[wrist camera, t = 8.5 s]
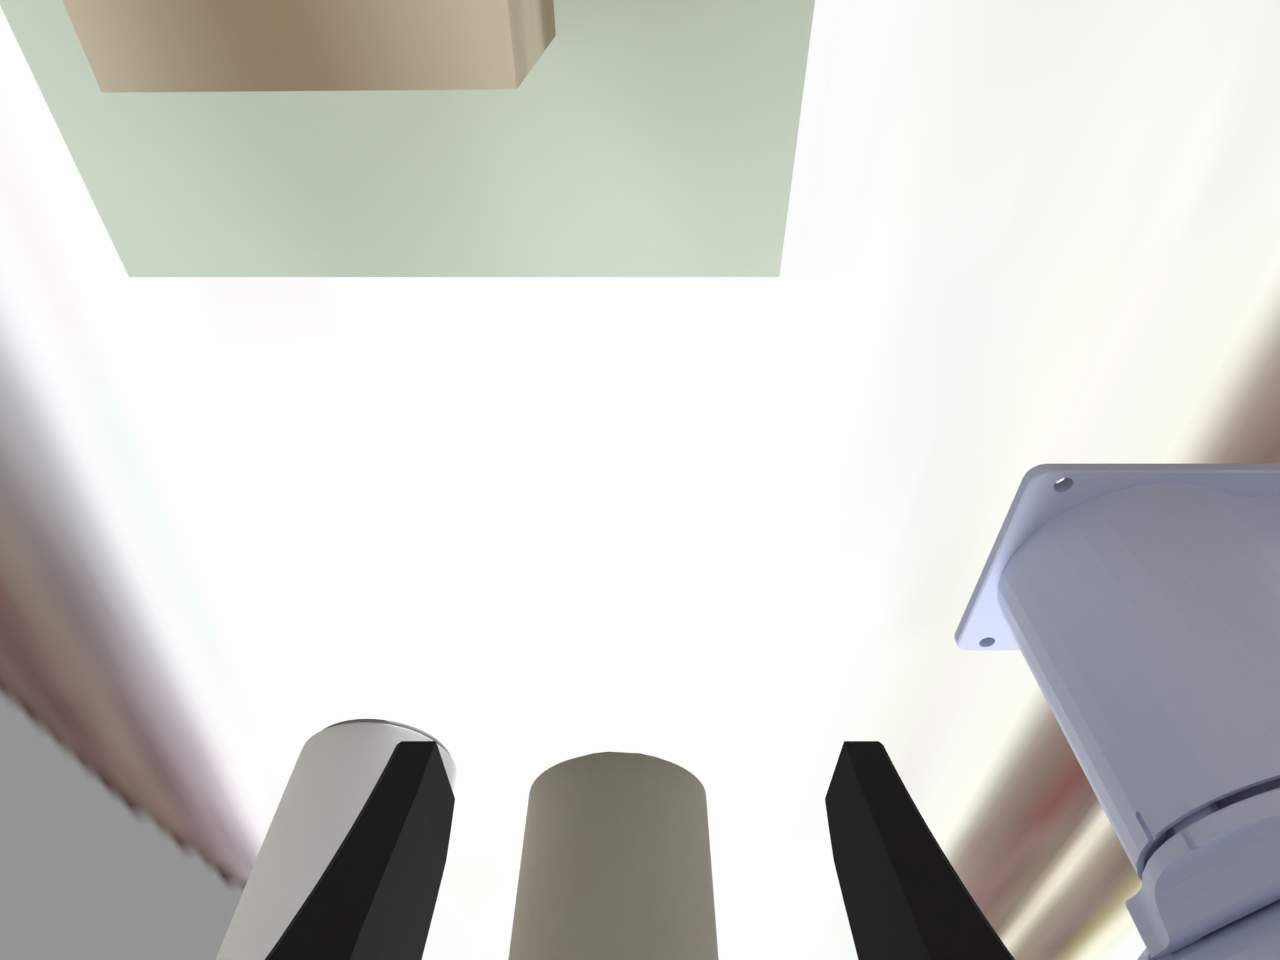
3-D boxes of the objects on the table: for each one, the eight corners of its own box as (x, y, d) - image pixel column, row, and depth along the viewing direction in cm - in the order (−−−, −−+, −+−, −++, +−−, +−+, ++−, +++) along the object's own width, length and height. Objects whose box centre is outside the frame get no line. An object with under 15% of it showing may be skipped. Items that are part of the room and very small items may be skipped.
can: (280, 716, 28) (101, 1115, 19) (439, 710, 28) (338, 1111, 18) (334, 796, 32) (208, 1157, 23) (473, 792, 32) (404, 1155, 23)
